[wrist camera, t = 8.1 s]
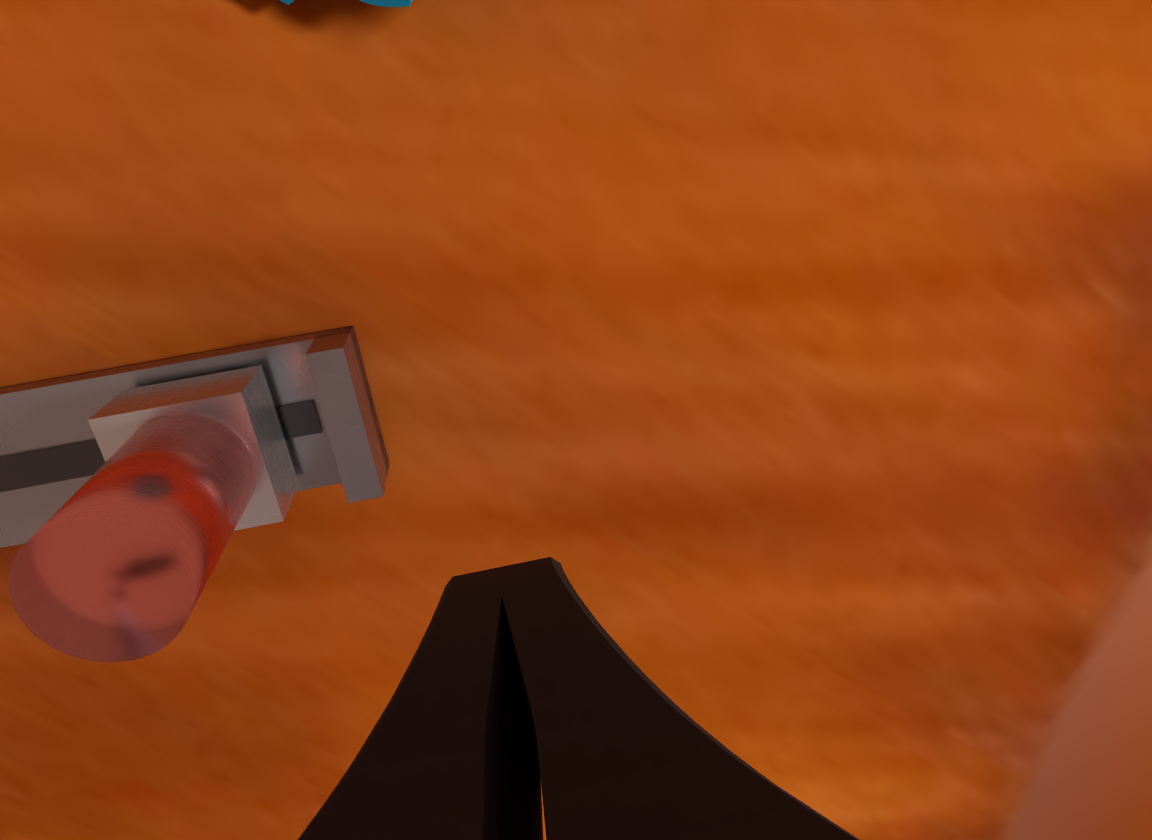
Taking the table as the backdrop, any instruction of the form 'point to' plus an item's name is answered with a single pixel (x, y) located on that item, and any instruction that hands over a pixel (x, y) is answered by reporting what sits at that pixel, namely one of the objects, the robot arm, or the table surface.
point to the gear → (377, 2)
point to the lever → (154, 514)
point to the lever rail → (291, 367)
